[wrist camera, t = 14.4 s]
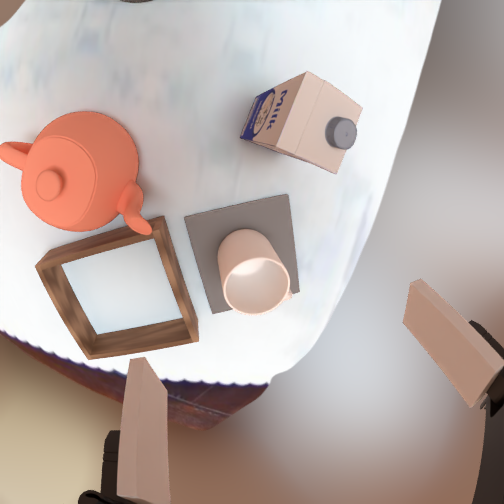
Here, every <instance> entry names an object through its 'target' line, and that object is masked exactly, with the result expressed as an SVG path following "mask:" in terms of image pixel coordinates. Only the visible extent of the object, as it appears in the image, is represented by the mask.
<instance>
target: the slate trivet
mask: <svg viewBox="0 0 504 504" xmlns="http://www.w3.org/2000/svg"><path fill="white" fill-rule="evenodd" d="M184 219H185V223H186V227H187V230H188V234H189V237H190V241H191V244H192V248H193V251H194V255H195V258H196V262H197V265H198V269H199V272H200V275H201V279H202V282H203V285H204V288H205V292H206V295H207V298H208V301H209V304H210V307H211V310H212V314H215V313H220V312H224V311H228V310H232V308H231V307H230V306H229V305H228V303H227V302H226V300H225V297H224V293H223V288H222V282H221V277H220V271H219V265H218V250H219V247H220V244H221V243H222V241H223V240H224V239H225V238H226V237H227V236H228V235H229V234H231V233H232V232H234V231H237V230H241V229H251V230H255V231H257V232H259V233H261V234H262V235H264V236H265V237H266V238H267V240H268V241H269V242H270V244H271V246H272V247H273V249H274V250H275V252H276V254H277V255H278V257H279V259H280V260H281V262H282V263H283V265H284V267H285V268H286V270H287V272H288V274H289V277H290V288H289V289H290V290H291V292H292V294H295V293H298V292H300V290H299V280H298V271H297V261H296V252H295V244H294V235H293V227H292V219H291V211H290V204H289V196H288V195H287V194H284V195H279V196H274V197H270V198H265V199H260V200H256V201H251V202H246V203H242V204H237V205H233V206H229V207H224V208H220V209H216V210H211V211H207V212H203V213H199V214H195V215H191V216H187V217H185V218H184Z"/></svg>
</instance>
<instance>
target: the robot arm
mask: <svg viewBox="0 0 504 504" xmlns="http://www.w3.org/2000/svg"><path fill="white" fill-rule="evenodd" d="M122 1H126V2H145V1H151V0H122ZM403 324H404V325H405V326H406V327H407V328H408V329H409V330H410V332H411V333H412V334H413V335H414V336H415V338H416V339H417V340H418V341H419V343H420V344H421V345H422V346H423V347H424V348H425V350H426V351H427V352H428V354H429V355H430V356H431V357H432V358H433V360H434V361H435V362H436V363H437V365H438V366H439V367H440V368H441V370H442V371H443V372H444V374H445V375H446V376H447V378H448V379H449V380H450V381H451V383H452V384H453V385H454V387H455V388H456V389H457V391H458V392H459V393H460V395H461V396H462V397H463V399H464V400H465V402H466V403H467V404H468V405H469V407H472V406H473V405H475V404H476V403H477V402H478V401H480V400H481V399H482V397H483V396H484V394H485V393H487V394H488V396H487V397H486V399H485V400H484V401H483V403H482V404H481V406H480V409H482V408H483V407H484V406H485V404H486V406H485V408H484V409H486V421H485V434H484V443H483V444H484V445H483V451H482V459H481V465H480V470H479V476H478V481H477V485H476V490H475V494H474V498H473V502H472V504H504V348H503V347H502V346H501V345H500V344H499V343H498V342H497V341H496V340H495V339H494V338H492V336H491V335H490V334H489V333H487V331H486V330H485V329H484V328H483V327H482V326H481V325H480V324H478V323H476V322H474V321H472V320H471V321H470V322H467V321H466V320H465V319H464V318H463V317H462V316H461V315H460V314H459V313H458V312H457V311H456V310H455V309H454V308H453V307H452V306H451V305H450V304H448V303H447V302H446V301H445V300H444V299H443V298H442V297H441V296H440V295H439V294H438V293H437V292H435V291H434V290H433V289H432V288H431V287H430V286H429V285H428V284H427V283H426V282H424V281H423V280H422V279H419V280H417V281H414V282H412V283H410V288H409V294H408V299H407V305H406V310H405V314H404V319H403ZM103 461H104V462H103V465H102V479H101V493H99V492H96V491H94V490H88V491H85V492H83V493H82V494H81V495H80V497H79V500H78V504H171V500H170V487H169V471H168V445H167V390H166V388H165V387H164V385H163V384H162V382H161V381H160V380H159V378H158V377H157V375H156V374H155V372H154V371H153V369H152V368H151V366H150V364H149V363H148V361H147V360H146V358H145V357H141V358H135V359H130V363H129V369H128V375H127V382H126V389H125V396H124V403H123V412H122V421H121V430H118V431H117V430H116V431H115V430H114V431H110V432H109V434H108V435H107V438H106V439H105V444H104V454H103Z"/></svg>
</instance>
